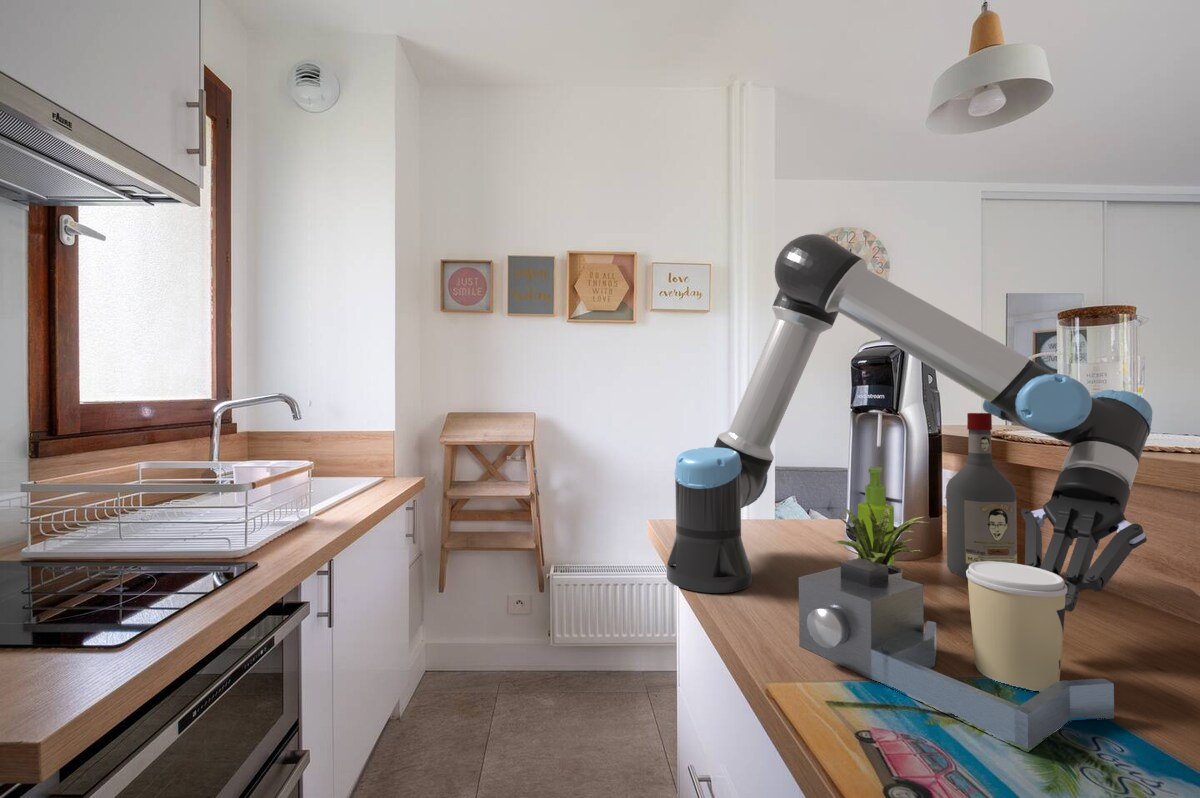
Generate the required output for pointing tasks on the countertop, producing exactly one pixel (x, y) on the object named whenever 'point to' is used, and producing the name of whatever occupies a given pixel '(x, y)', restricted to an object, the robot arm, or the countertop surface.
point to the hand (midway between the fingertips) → (1044, 627)
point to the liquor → (980, 506)
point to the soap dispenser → (875, 506)
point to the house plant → (879, 540)
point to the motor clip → (923, 653)
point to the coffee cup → (1017, 623)
